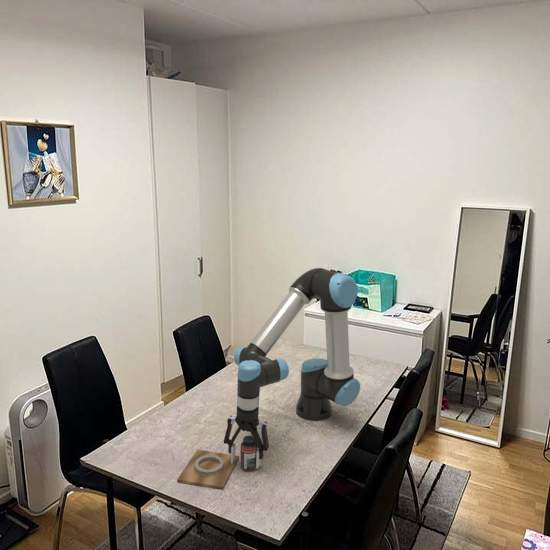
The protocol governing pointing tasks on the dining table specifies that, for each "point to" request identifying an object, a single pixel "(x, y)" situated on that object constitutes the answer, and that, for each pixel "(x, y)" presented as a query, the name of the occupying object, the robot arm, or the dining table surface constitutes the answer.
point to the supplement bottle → (248, 453)
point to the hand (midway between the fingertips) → (245, 463)
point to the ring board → (208, 469)
